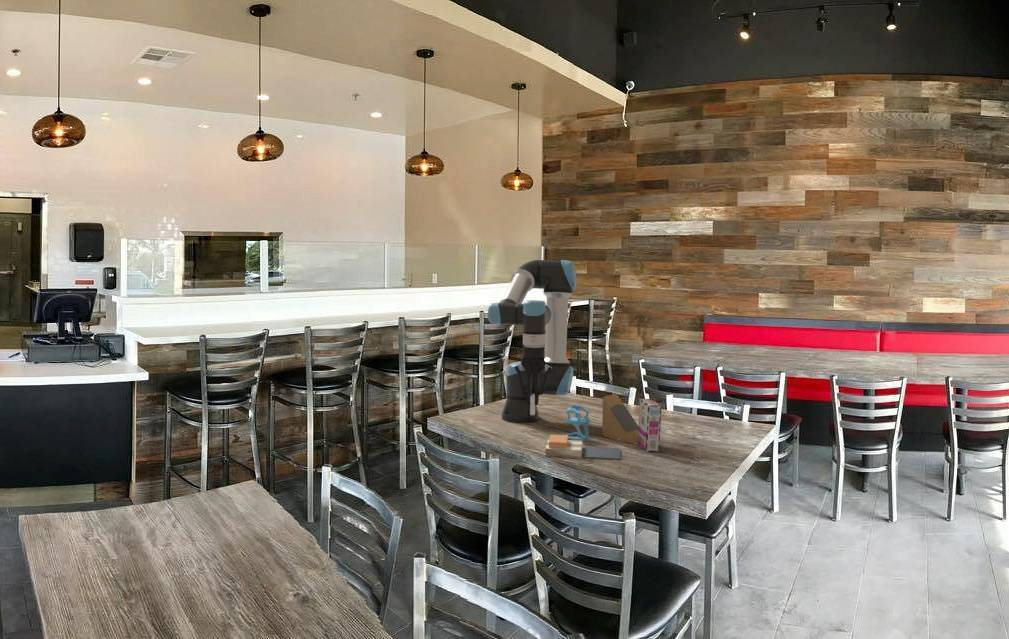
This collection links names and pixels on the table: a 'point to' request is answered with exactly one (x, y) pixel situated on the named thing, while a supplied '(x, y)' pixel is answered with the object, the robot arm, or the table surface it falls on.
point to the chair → (578, 422)
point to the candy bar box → (649, 425)
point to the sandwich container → (618, 420)
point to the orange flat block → (558, 441)
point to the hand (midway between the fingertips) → (532, 414)
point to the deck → (572, 449)
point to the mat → (602, 452)
